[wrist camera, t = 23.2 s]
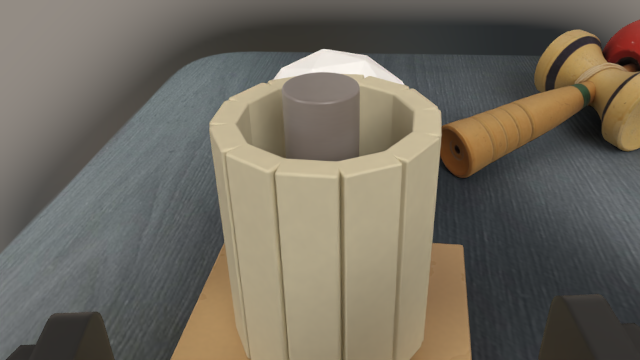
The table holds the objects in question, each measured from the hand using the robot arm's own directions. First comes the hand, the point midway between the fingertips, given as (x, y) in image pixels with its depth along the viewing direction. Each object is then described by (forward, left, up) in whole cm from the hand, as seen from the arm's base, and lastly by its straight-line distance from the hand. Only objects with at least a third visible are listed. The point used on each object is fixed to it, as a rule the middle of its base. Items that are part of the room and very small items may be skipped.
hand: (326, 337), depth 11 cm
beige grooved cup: (-1, +8, -8) cm, 11 cm away
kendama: (+11, +26, -9) cm, 30 cm away
